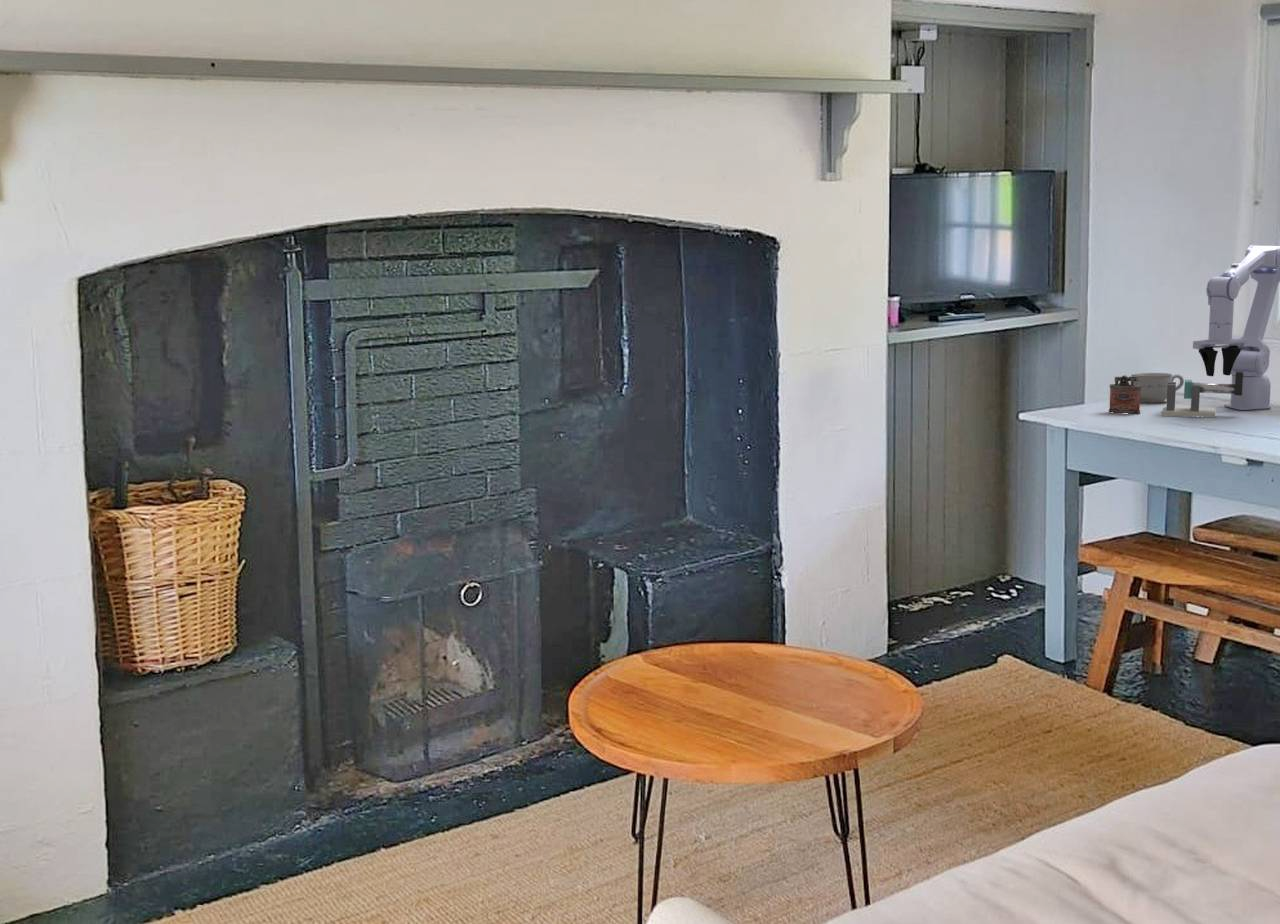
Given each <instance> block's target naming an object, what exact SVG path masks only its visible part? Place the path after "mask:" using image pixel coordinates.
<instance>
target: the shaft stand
mask: <svg viewBox="0 0 1280 924" xmlns="http://www.w3.org/2000/svg"><path fill="white" fill-rule="evenodd" d="M1176 387H1177V381H1173V382H1168V386H1167V399H1166V405H1165V406H1162V409H1161V410H1162V411H1161V416H1162V417H1181V416H1199V417H1198V418H1211V417H1215V418H1216V407H1200V394H1201V393H1200V385H1192V394H1191V399H1190V406H1176V392H1177V391H1176ZM1202 416H1203V417H1202Z"/></svg>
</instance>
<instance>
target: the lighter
mask: <svg viewBox="0 0 1280 924" xmlns="http://www.w3.org/2000/svg"><path fill="white" fill-rule="evenodd" d="M1138 381H1139V378H1138V377H1134V376H1128V375H1126V374H1123V375H1122V376H1114V383H1111V384H1109V409H1108V413H1109V412H1113V413H1112V414H1115V413H1128V414H1127V415H1134V414H1137V415H1141V410H1140V406H1141V402H1140V389H1141V385H1134V382H1138Z"/></svg>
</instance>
